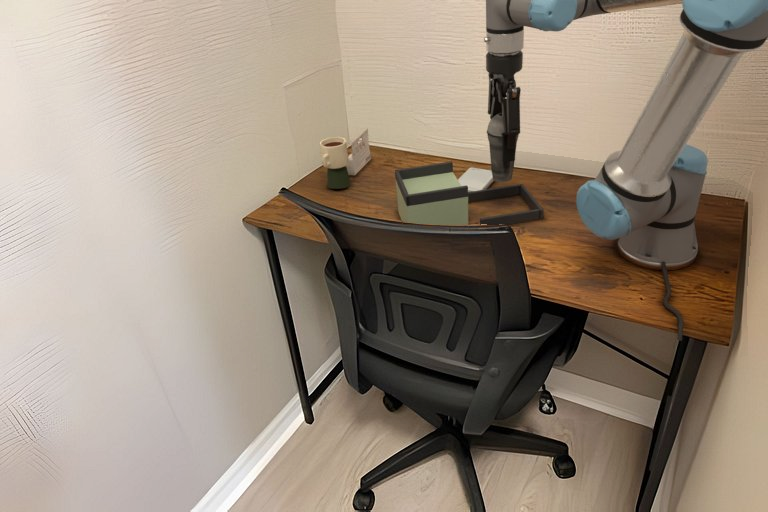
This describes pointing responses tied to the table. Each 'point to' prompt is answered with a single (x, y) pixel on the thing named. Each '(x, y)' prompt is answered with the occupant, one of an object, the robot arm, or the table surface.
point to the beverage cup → (499, 150)
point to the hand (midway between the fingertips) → (502, 153)
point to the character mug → (335, 161)
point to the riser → (451, 198)
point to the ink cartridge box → (359, 154)
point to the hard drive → (476, 179)
